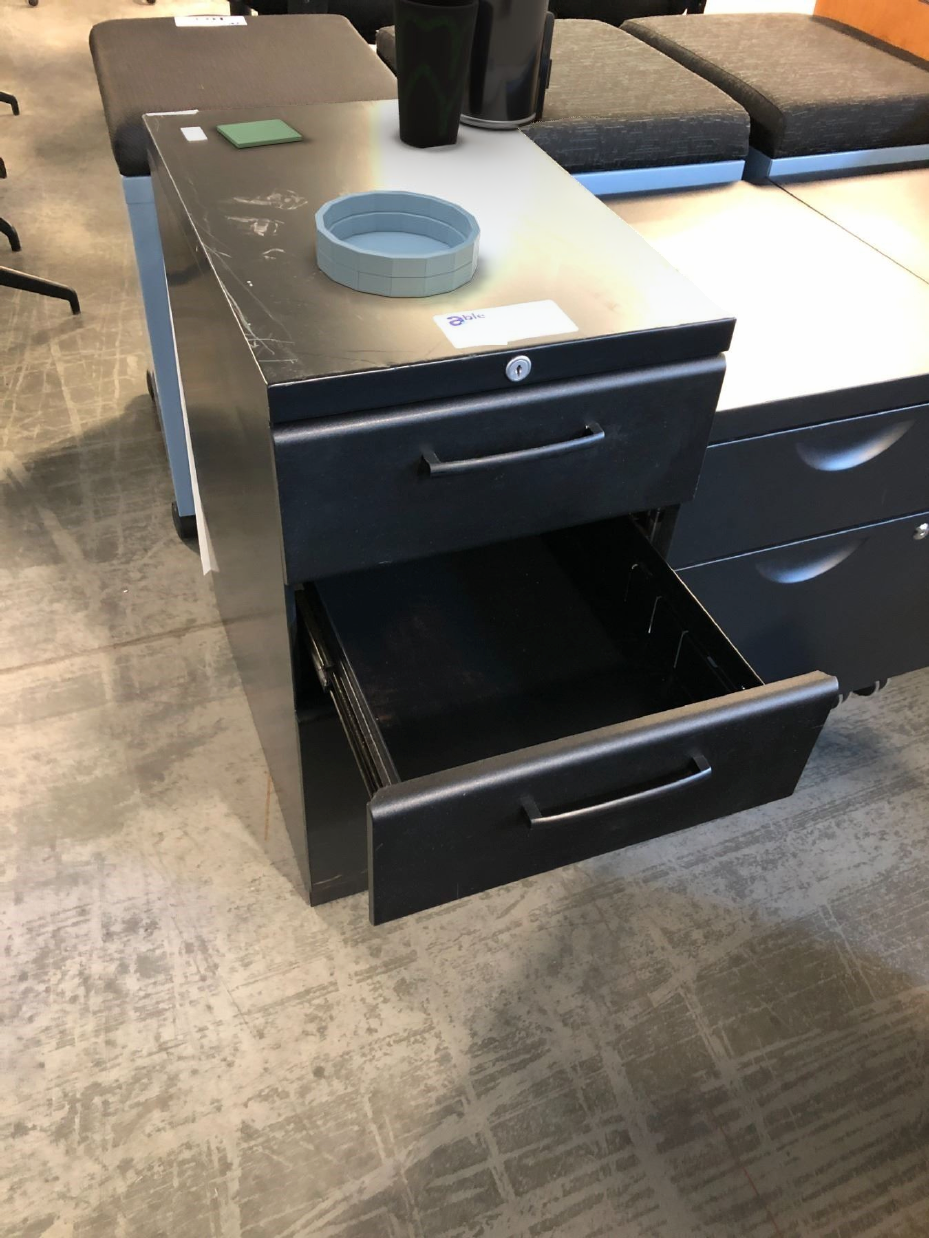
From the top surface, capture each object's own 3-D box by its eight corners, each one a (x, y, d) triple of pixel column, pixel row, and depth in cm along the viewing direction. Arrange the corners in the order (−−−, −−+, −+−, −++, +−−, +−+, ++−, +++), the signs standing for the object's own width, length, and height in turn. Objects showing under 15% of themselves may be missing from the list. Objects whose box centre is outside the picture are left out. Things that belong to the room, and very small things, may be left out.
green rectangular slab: (279, 123, 94) (279, 118, 94) (302, 140, 91) (301, 136, 91) (217, 130, 91) (216, 125, 91) (238, 148, 89) (238, 143, 88)
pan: (423, 225, 80) (425, 182, 77) (505, 287, 73) (510, 241, 70) (289, 249, 74) (287, 203, 72) (364, 318, 68) (364, 269, 65)
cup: (458, 158, 91) (469, 12, 83) (380, 145, 92) (383, -1, 84) (473, 132, 97) (485, -7, 88) (399, 121, 97) (404, -19, 89)
